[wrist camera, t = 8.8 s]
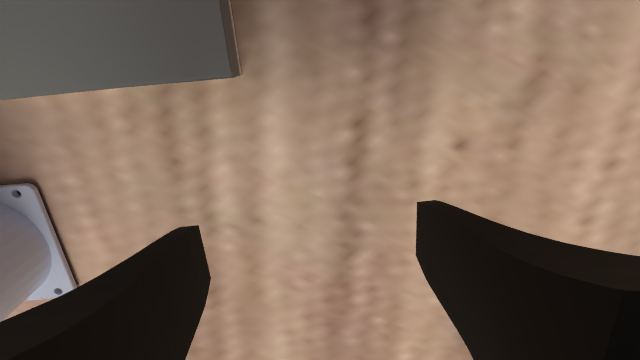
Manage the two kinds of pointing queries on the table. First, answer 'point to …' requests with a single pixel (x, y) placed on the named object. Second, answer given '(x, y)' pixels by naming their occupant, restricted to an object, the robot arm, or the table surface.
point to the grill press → (107, 44)
